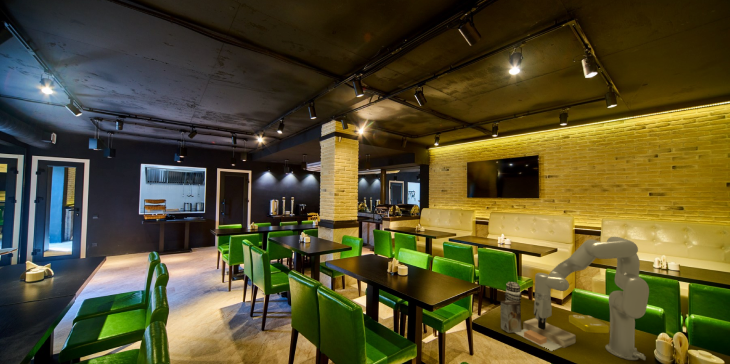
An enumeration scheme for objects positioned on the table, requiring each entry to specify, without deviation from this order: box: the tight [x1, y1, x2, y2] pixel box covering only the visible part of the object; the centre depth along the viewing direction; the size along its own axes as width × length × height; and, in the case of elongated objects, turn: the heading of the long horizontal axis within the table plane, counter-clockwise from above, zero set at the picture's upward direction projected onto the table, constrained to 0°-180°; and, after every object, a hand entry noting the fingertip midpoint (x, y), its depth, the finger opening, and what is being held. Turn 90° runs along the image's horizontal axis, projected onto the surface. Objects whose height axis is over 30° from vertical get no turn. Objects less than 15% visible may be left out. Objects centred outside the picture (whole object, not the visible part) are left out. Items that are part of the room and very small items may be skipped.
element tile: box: [568, 314, 610, 334], centre depth 172 cm, size 15×15×5 cm
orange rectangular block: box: [523, 330, 547, 346], centre depth 154 cm, size 9×6×2 cm, turn 28°
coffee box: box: [499, 300, 522, 334], centre depth 164 cm, size 9×6×16 cm
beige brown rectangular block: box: [522, 317, 577, 349], centre depth 159 cm, size 22×12×4 cm, turn 29°
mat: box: [514, 329, 563, 352], centre depth 154 cm, size 20×10×1 cm, turn 29°
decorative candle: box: [504, 281, 522, 304], centre depth 173 cm, size 9×9×25 cm
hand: (541, 328), depth 156 cm, fingers closed
